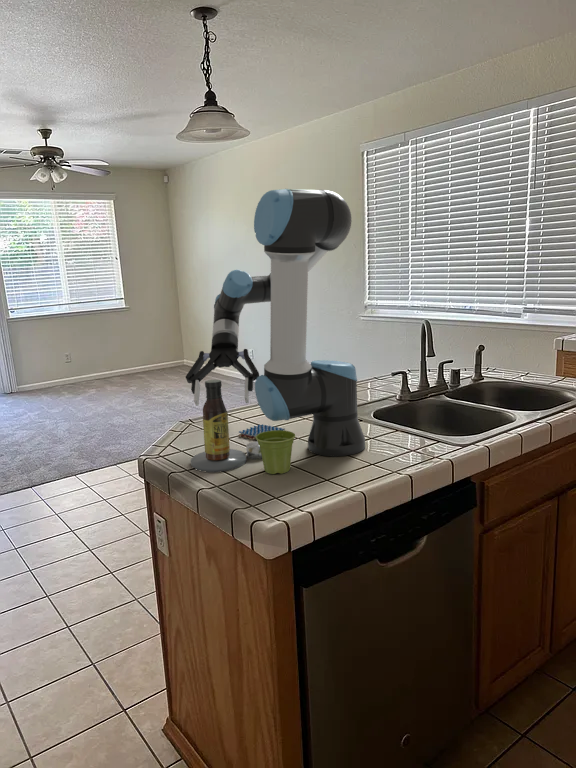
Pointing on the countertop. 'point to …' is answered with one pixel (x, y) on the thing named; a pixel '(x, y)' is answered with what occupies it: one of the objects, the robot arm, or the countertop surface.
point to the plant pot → (276, 450)
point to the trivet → (219, 462)
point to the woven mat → (257, 431)
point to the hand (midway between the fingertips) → (221, 401)
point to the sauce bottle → (215, 423)
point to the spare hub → (253, 450)
